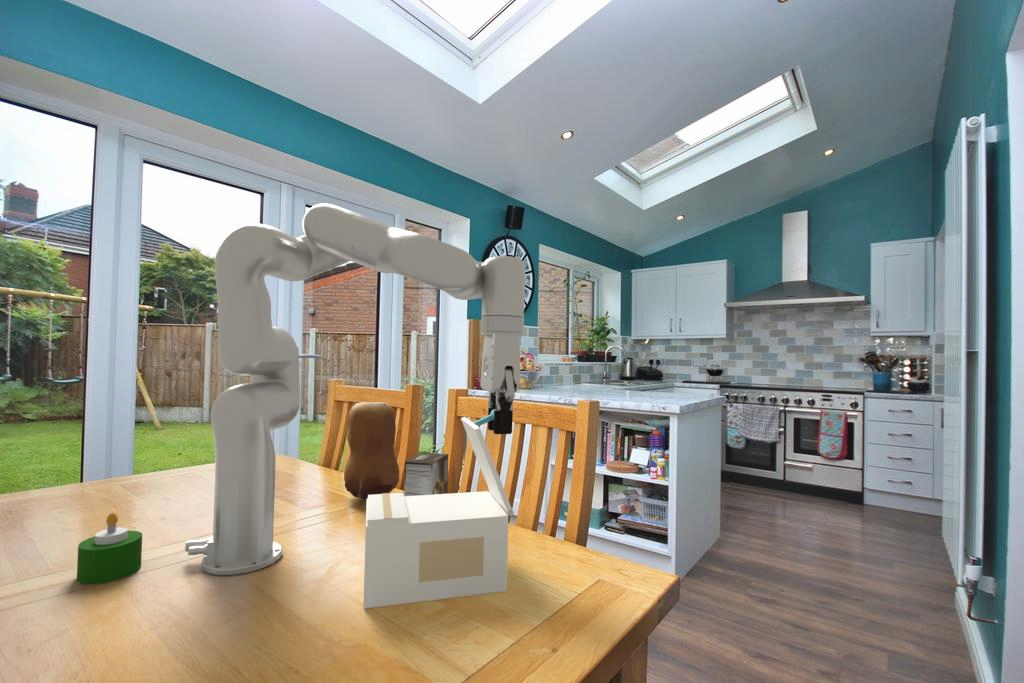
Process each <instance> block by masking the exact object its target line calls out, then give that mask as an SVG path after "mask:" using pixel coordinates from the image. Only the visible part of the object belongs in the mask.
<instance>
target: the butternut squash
mask: <svg viewBox="0 0 1024 683" xmlns="http://www.w3.org/2000/svg"><path fill="white" fill-rule="evenodd" d="M349 410H350V411H349V413H348V420H347V421H348V422H347V424H348V425H347V426H348V428H347V431H348V432H347V442H348V446H349V455H348V458H347V460H346V463H345V466H344V472H343V474H344V475H343V478H344V479H343V482H344V487H345V489H346V492H349V494H351V495H352V496H353V497H354V498H356V499H361V500H367V499H368V495H374V494H382V493H389V494H391V492H392V491H393V490H395V489H396V487H397V486H398V484H399V482H400V467H399V463H398V460H397V458H396V454H395V442H396V431H397V430H396V427H397V426H396V418H395V416H396V415H395V412H394V409H393V407H392V405H390V404H389V403H387V402H382V401H374V402H371V401H368V402H366V401H361V402H358V403H355V404H353V405H352V407H351V408H350V409H349Z"/></svg>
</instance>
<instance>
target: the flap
mask: <svg viewBox="0 0 1024 683" xmlns="http://www.w3.org/2000/svg"><path fill="white" fill-rule="evenodd" d="M494 411H496V409H494V410H492V411H491V415H488V414H487V415H486V416H484V417H482V418H479V419H478V420H475V421H471V420H470V419H468V418H467V417H466V416H463V417H461V418H460V421H461V422H462V424H463V428H464V430H465V433H466V435H467V438H468V440H469V443H470V445H471V448H472V450H473V453H474V456H475V458H476V460H477V463H478V465H479V468H480V470H481V473H482V476H483V478H484V481H485V483H486V486H487V489H488V492H489V493H490V494H491V495H492V497H493V498H494V499H495V500H496V501H497V503H498V504H499V505H500V506H501V507H502V509H503V510H504V511H505V512H506V514H507V515H508V517H512V516H514V513H515V512H514V510H513V508H512V506H511V503H510V500H509V498H508V496H507V495H508V494H507V493H506V491H505V488H504V486H503V482H502V481H501V478H500V475H499V473H498V471H497V468H496V465H495V463H494V460H493V458H492V455H491V452H490V450H489V448H488V445H487V442H486V439H485V437H484V434H483V433H482V429H481V427H480V426H482V425H486V423H487V424H488V422H489V421H491V420H493V419H494Z"/></svg>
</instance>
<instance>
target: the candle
mask: <svg viewBox="0 0 1024 683" xmlns="http://www.w3.org/2000/svg"><path fill="white" fill-rule="evenodd" d="M118 520H119V519H118V515H117V514H116V513H115V512H110V514H109V515H108V516H107V517H106V525H107V529H103V530H99V531H98V532H96V533H95V534H94V536H92V537H89V538H87V539H84V540H82V541H81V542H80V543H79V544H78V546H77V566H76V582H77V581H78V582H80V583H79V584H81V583H83V584H82V585H88V584H90V585H100V584H106V583H112V582H115V581H119V580H122V579H125V578H127V577H130V576H132V575H133V574H136V573H137V572H139V570H141V568H142V557H143V556H142V555H143V554H142V552H143V533H142V532H140V531H137V530H129V528H127V527H122V526H120V527H117V523H118ZM78 582H77V583H78Z"/></svg>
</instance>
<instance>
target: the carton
mask: <svg viewBox="0 0 1024 683" xmlns="http://www.w3.org/2000/svg"><path fill="white" fill-rule="evenodd" d="M365 508H366V510H365V512H366V513H365V515H366V516H365V541H364V543H365V544H364V547H365V548H364V573H363V574H364V578H363V579H364V580H363V609H364V610H365V609H373V608H381V607H390V606H396V605H403V604H404V605H406V604H413V603H414V604H415V603H422V602H427V601H437V600H444V599H453V598H462V597H469V596H477V595H479V596H480V595H485V594H493V593H500V592H502V593H503V592H507V591H508V590H507V589H508V556H509V555H508V554H509V553H508V547H509V546H508V545H509V543H508V542H509V515H508V514H507V513H506V512H505V510H504V509H503V508H502V507H501V506H500V504H499V503H498V502H497V501H496V499H495V498H494V497H493V496H492V495H491V493H490V492H489V490H486V491H471V492H470V491H469V492H454V493H452V492H451V493H447V494H434V495H418V496H404V493H403V492H395V493H394V492H393V493H391V492H390V493H382V494H374V495H368V499H366V507H365Z"/></svg>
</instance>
